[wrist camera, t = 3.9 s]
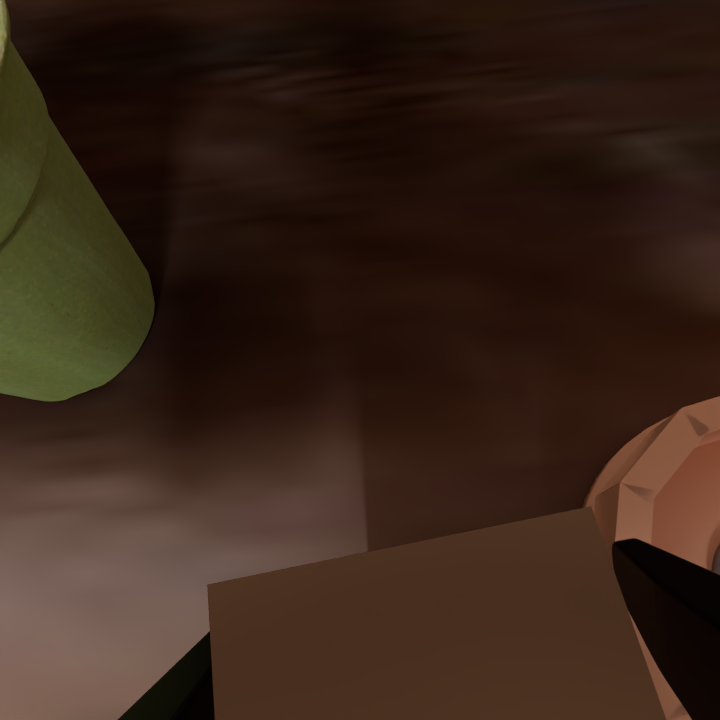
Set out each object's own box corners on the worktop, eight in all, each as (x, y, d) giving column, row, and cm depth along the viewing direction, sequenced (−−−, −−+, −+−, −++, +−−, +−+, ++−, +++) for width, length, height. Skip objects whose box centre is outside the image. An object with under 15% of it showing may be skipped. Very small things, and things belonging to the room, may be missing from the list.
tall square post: (538, 707, 15) (800, 1099, 4) (396, 733, 15) (239, 1165, 4) (497, 556, 16) (591, 506, 5) (370, 581, 16) (207, 584, 6)
